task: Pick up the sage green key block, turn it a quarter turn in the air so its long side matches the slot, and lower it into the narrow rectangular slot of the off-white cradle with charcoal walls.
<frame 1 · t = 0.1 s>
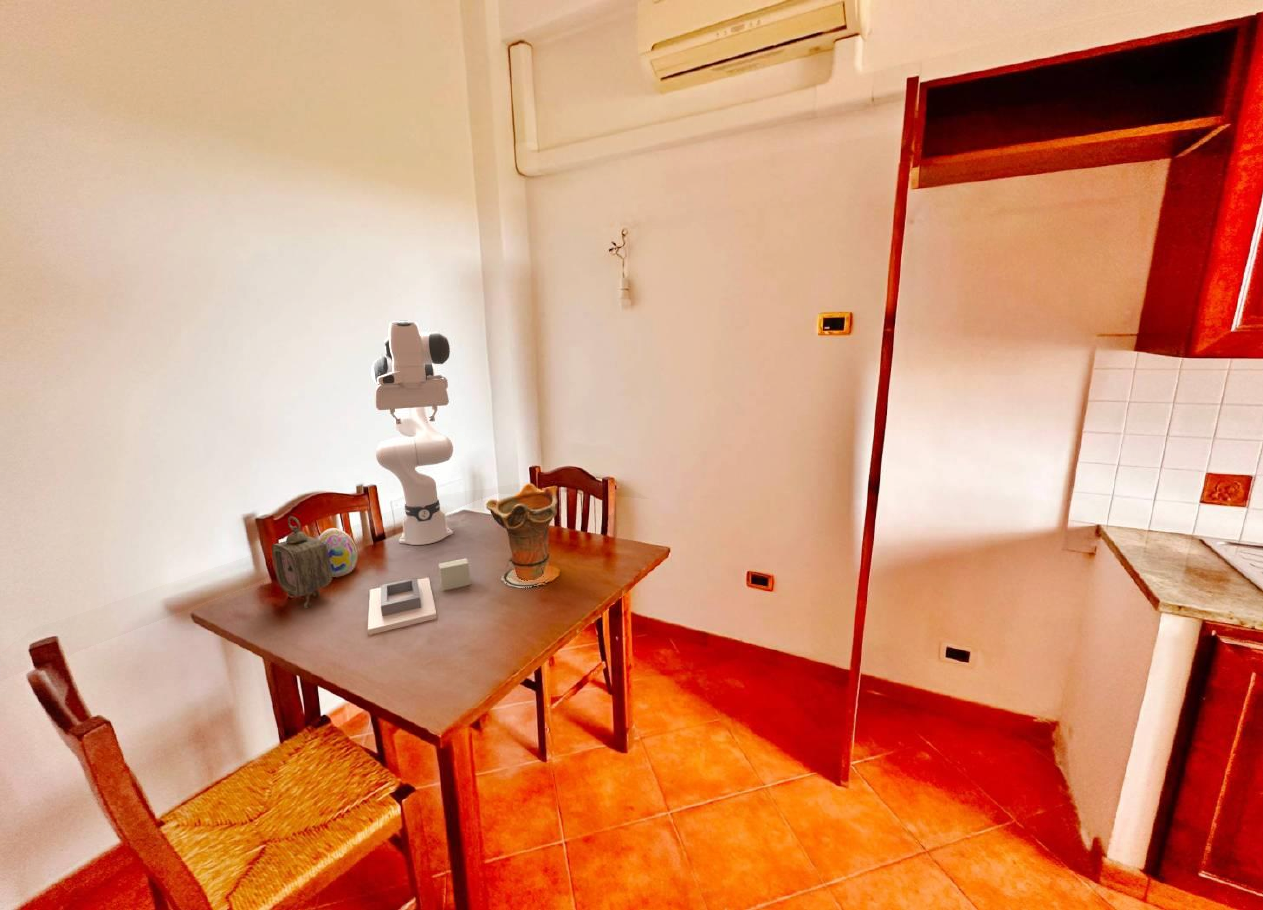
hand: (415, 422, 151), 48 cm above the table, tool pointing down, fingers open, 8 cm apart
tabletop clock: (309, 599, 144), on the table
decorative vase: (532, 575, 155), on the table
decorative egg: (338, 573, 161), on the table
key block: (455, 584, 150), on the table
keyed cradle: (402, 605, 138), on the table
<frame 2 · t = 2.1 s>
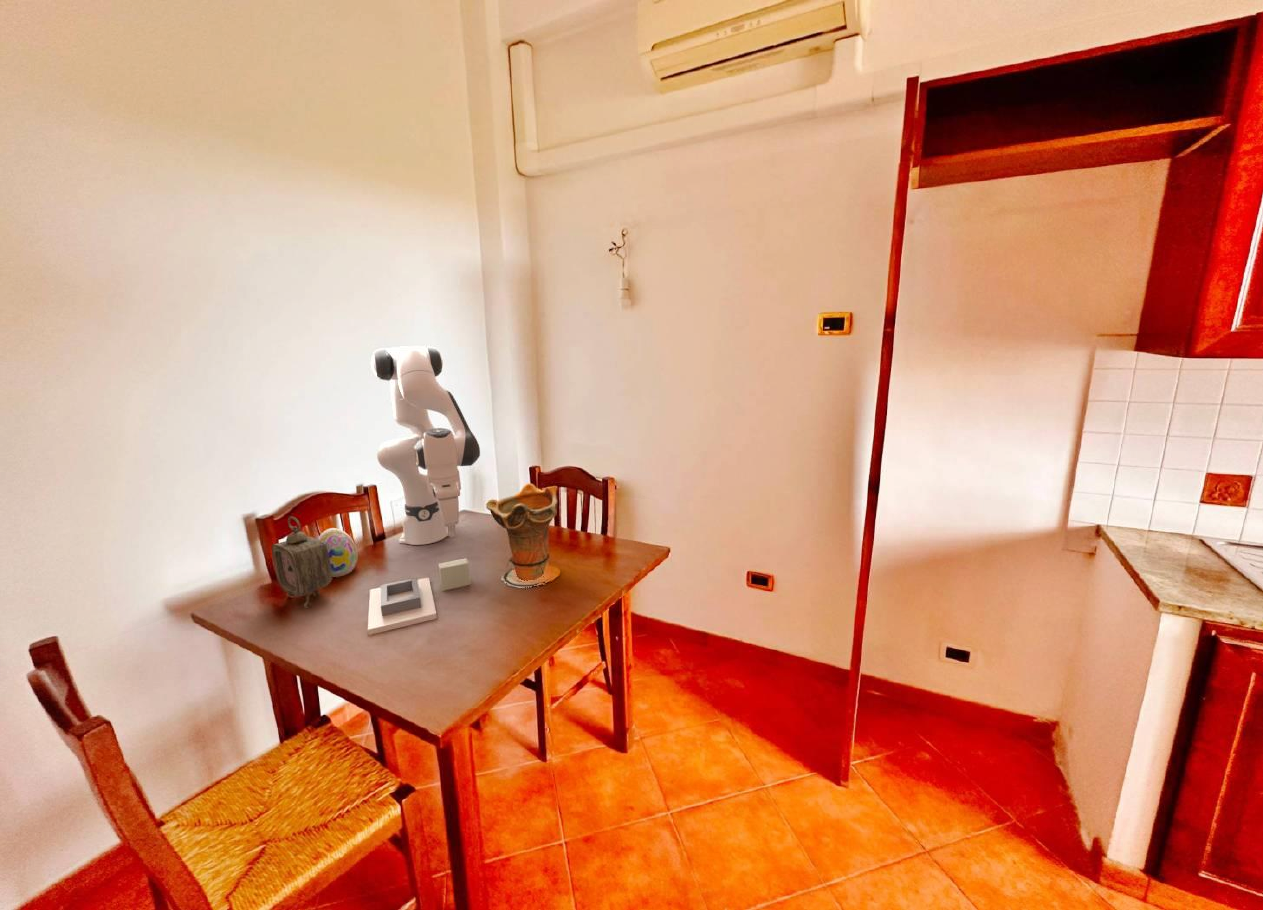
hand: (449, 530, 146), 17 cm above the table, tool pointing down, fingers open, 8 cm apart
nothing on the table moved.
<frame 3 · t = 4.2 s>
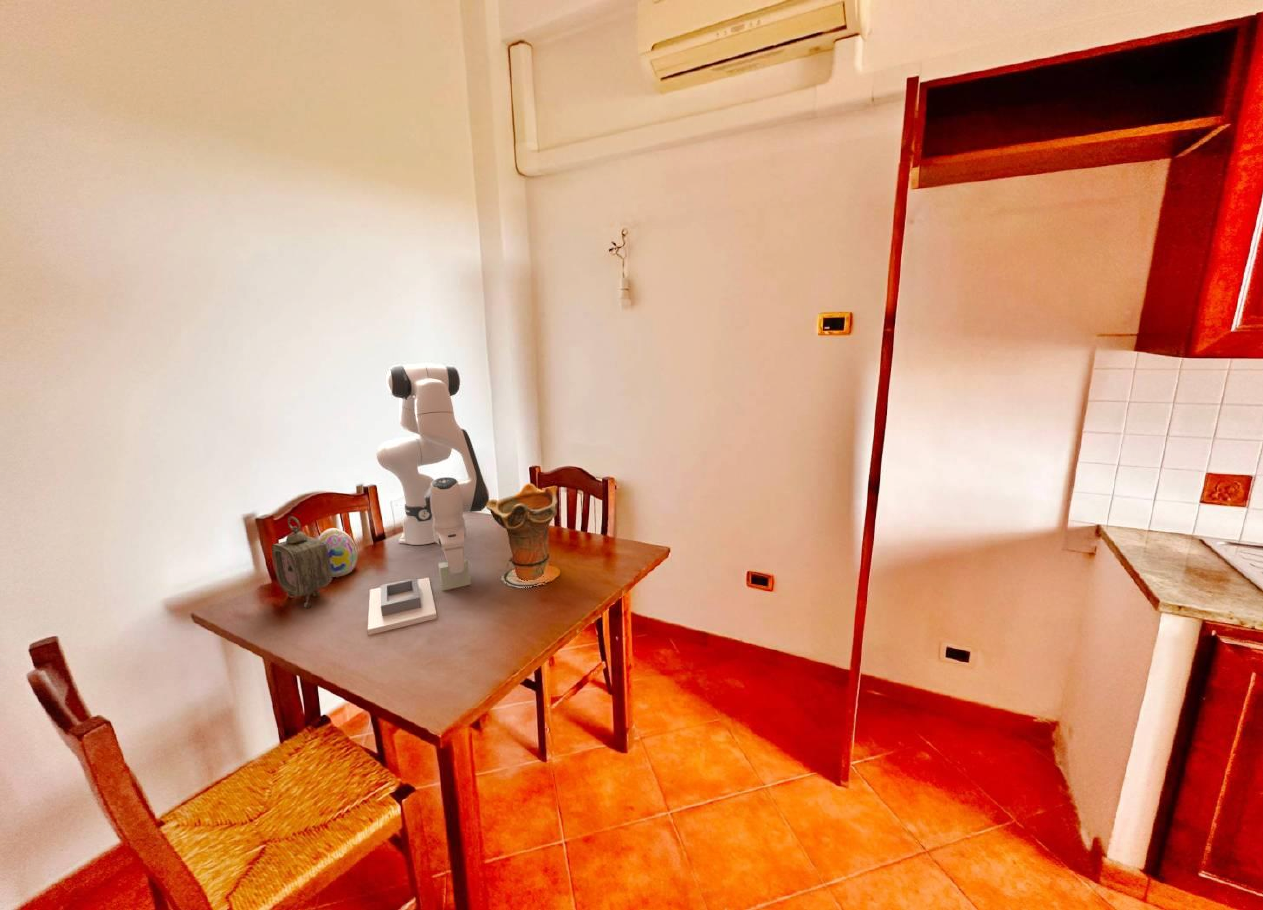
hand: (454, 576, 149), 3 cm above the table, tool pointing down, fingers closed on key block, 4 cm apart
key block: (455, 584, 150), on the table, touching gripper
everything else where it was.
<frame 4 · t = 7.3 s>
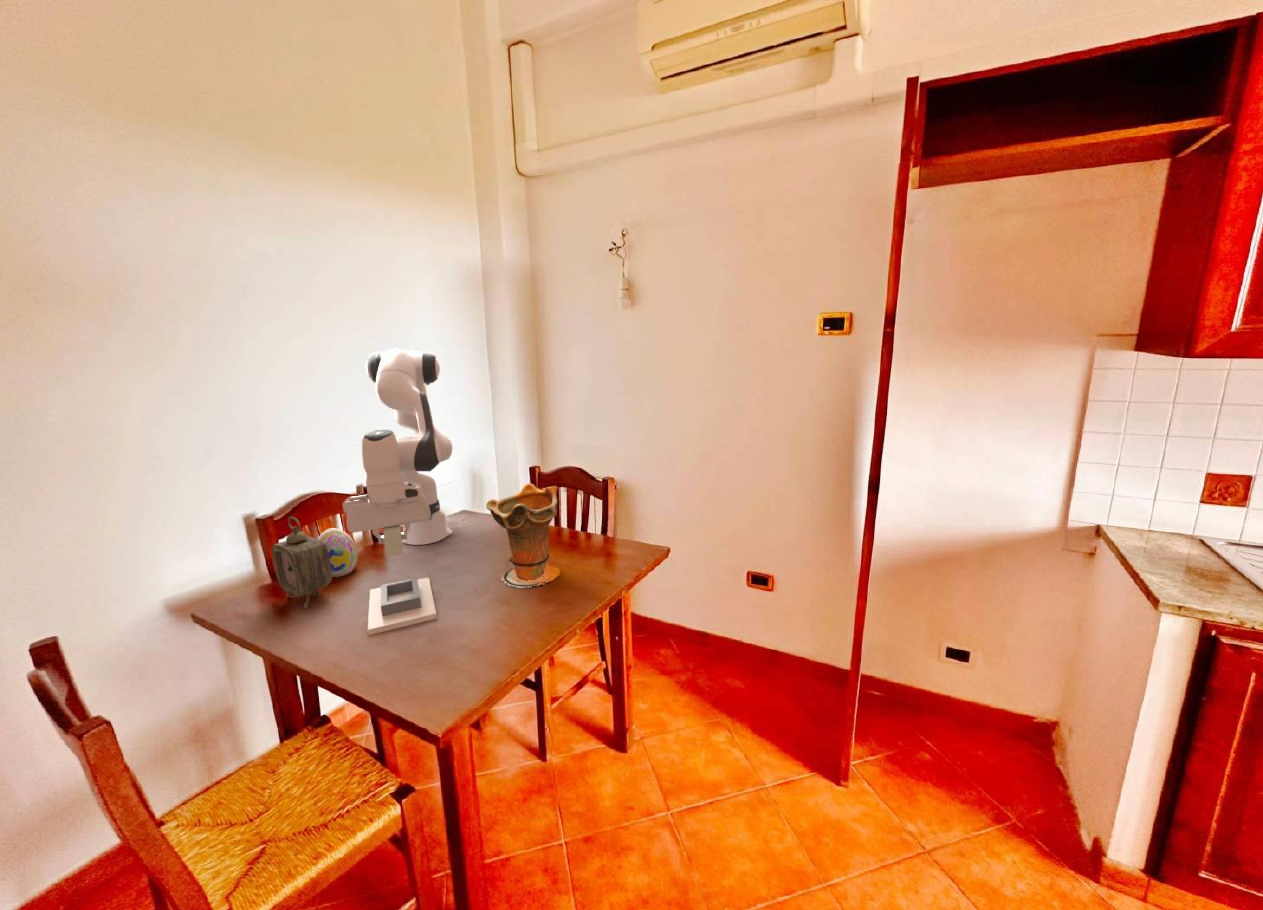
hand: (393, 541, 134), 19 cm above the table, tool pointing down, fingers closed on key block, 4 cm apart
key block: (394, 550, 135), point 16 cm above the table, touching gripper
everything else where it was.
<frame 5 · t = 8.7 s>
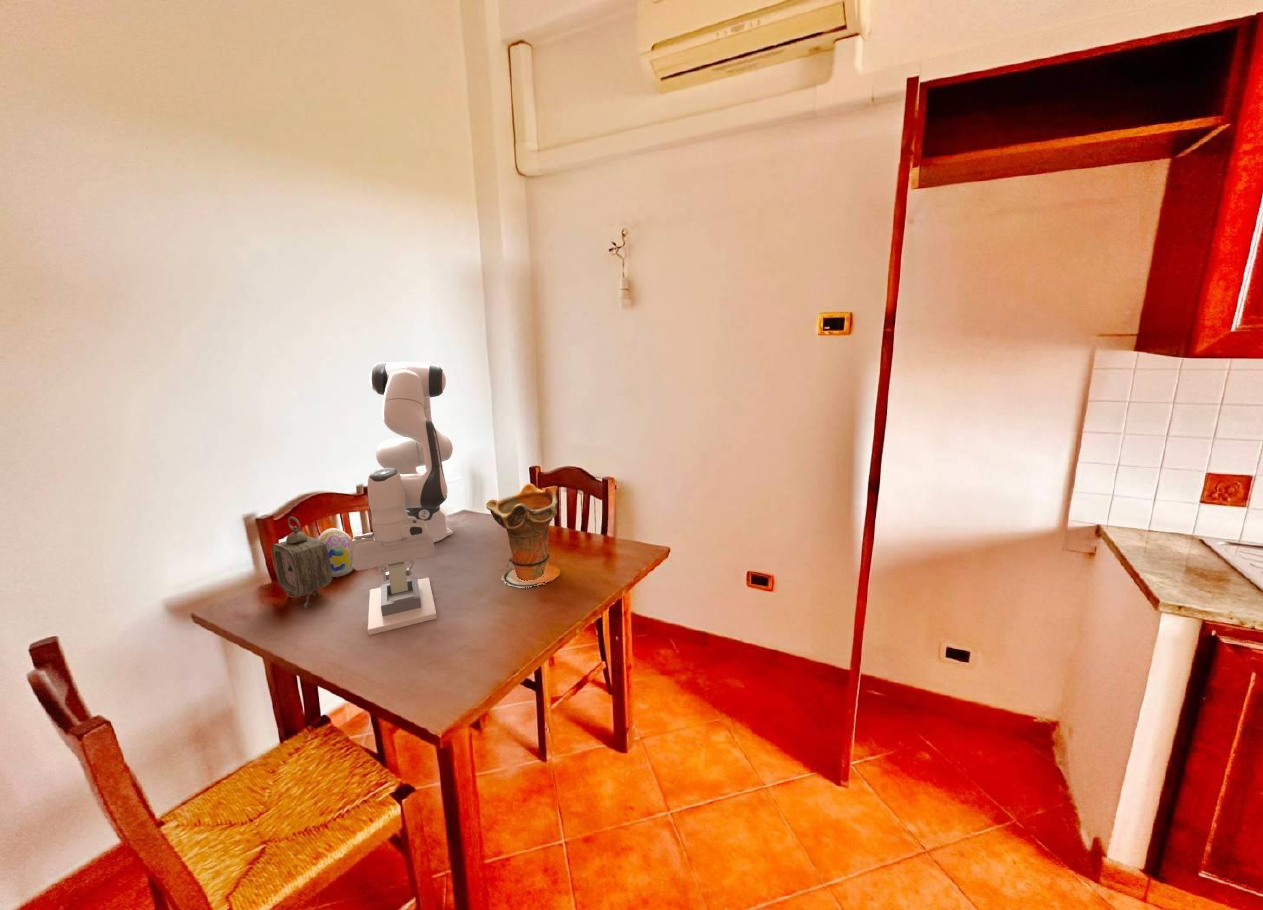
hand: (398, 577, 136), 9 cm above the table, tool pointing down, fingers closed on key block, 4 cm apart
key block: (399, 586, 137), point 6 cm above the table, touching gripper
everything else where it was.
when the fingers open (6 cm above the table, at t = 10.0 s): key block drops 1 cm, resting on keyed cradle.
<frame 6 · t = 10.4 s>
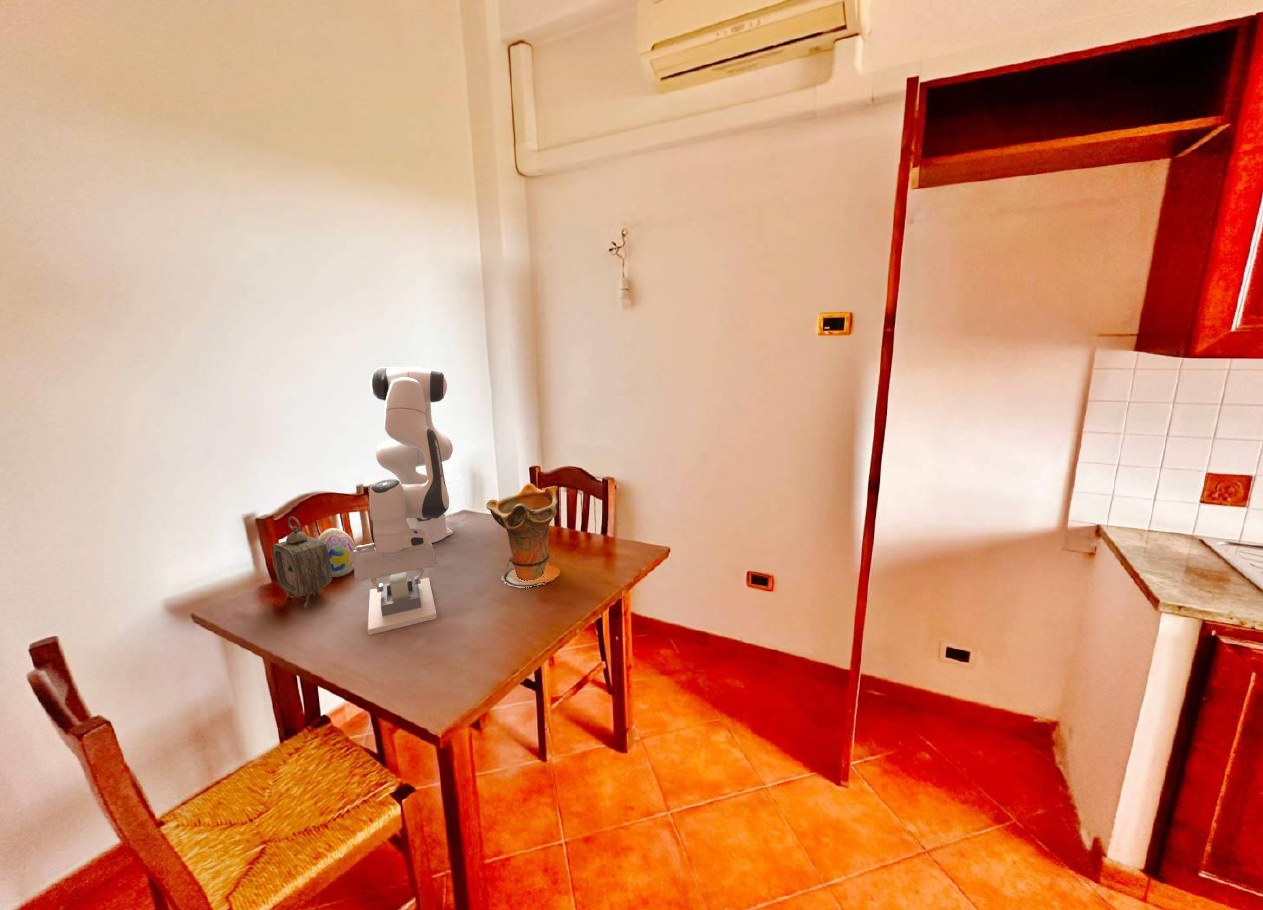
hand: (399, 587, 137), 6 cm above the table, tool pointing down, fingers open, 8 cm apart
key block: (401, 600, 138), point 1 cm above the table, touching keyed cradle
everything else where it was.
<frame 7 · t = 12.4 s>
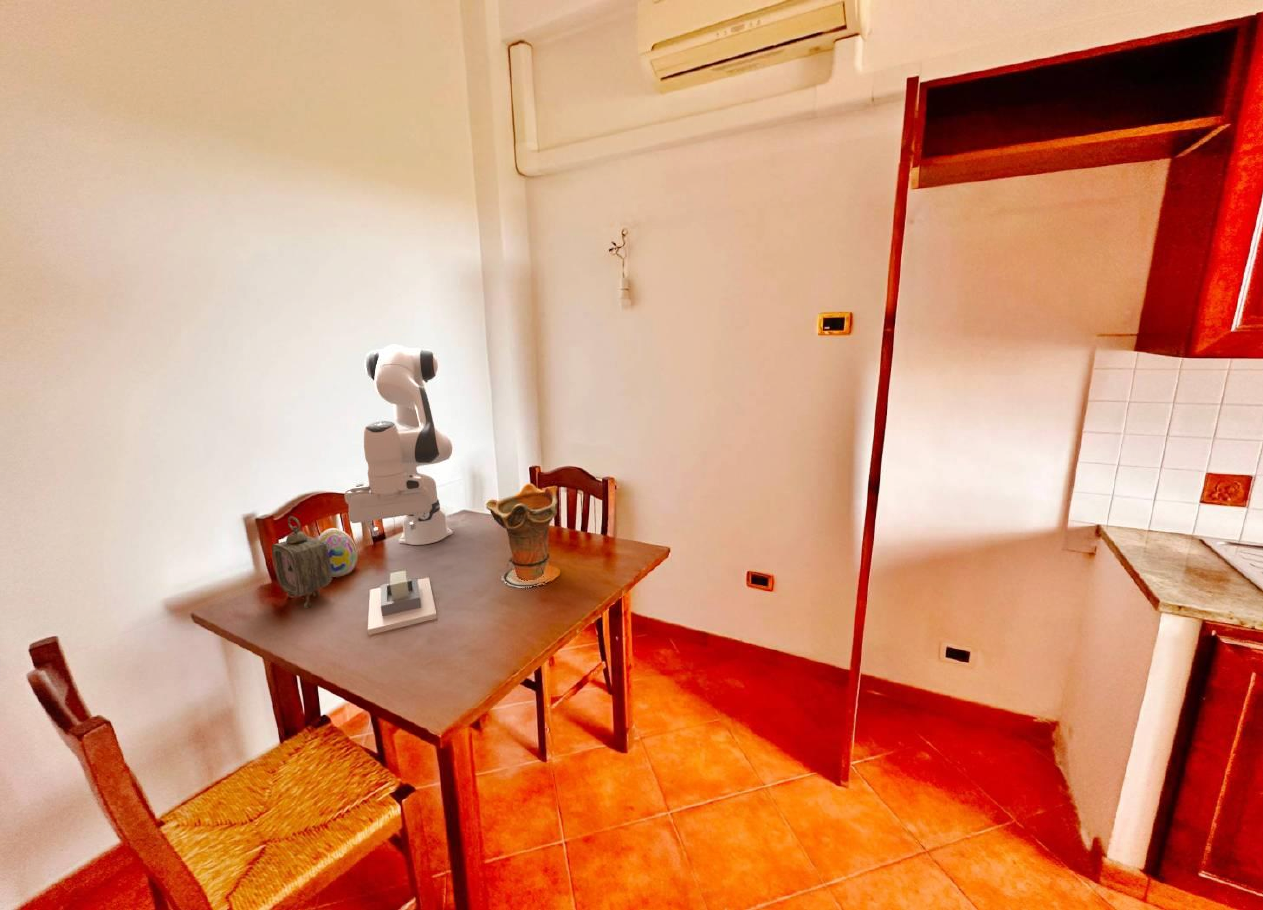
hand: (394, 532, 135), 21 cm above the table, tool pointing down, fingers open, 8 cm apart
nothing on the table moved.
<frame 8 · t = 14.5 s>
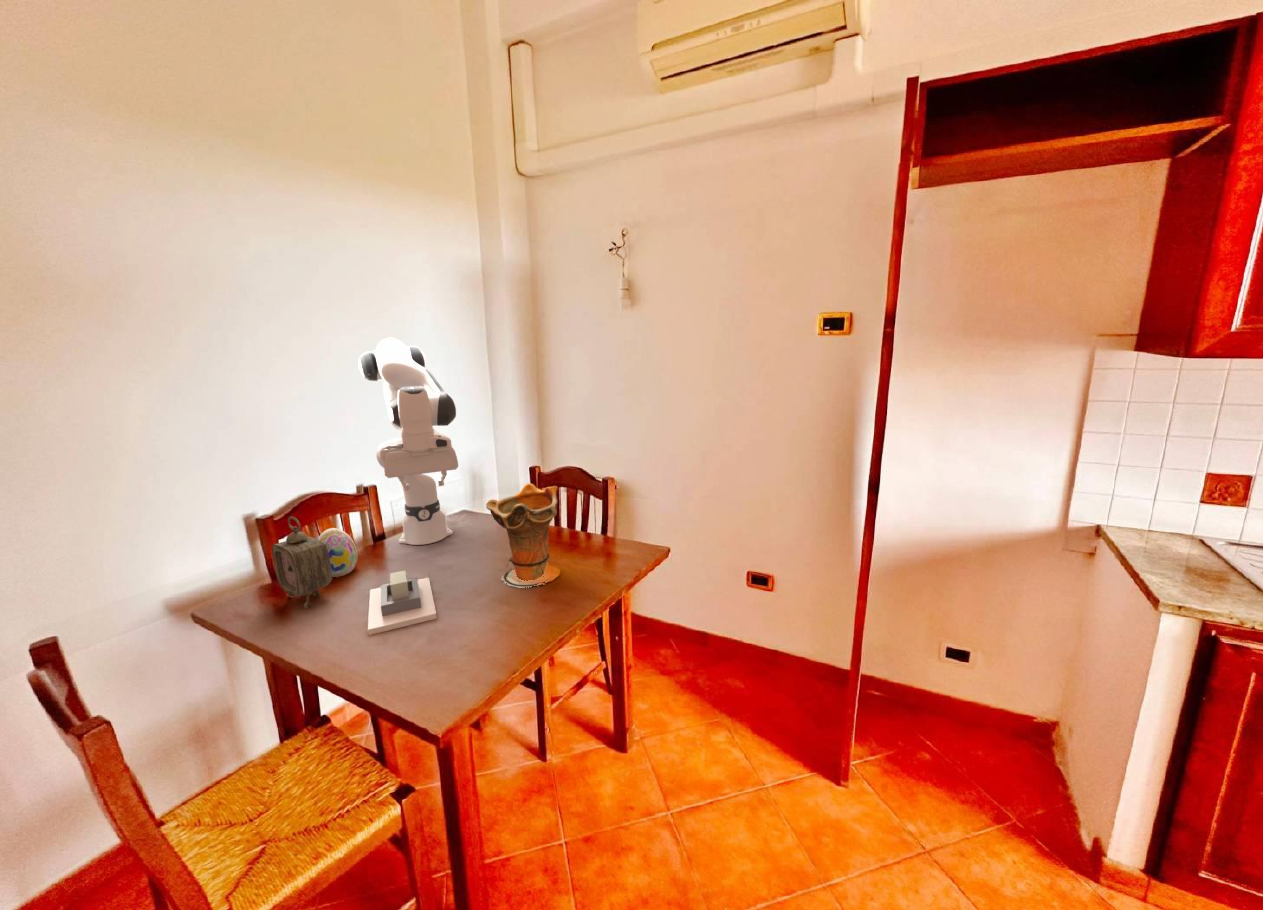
hand: (424, 487, 149), 29 cm above the table, tool pointing down, fingers open, 8 cm apart
nothing on the table moved.
at the end: key block 0.1 cm off-centre on the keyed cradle, point 1.5 cm above the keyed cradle's base; key block tilted 0°; the gripper is holding nothing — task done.
